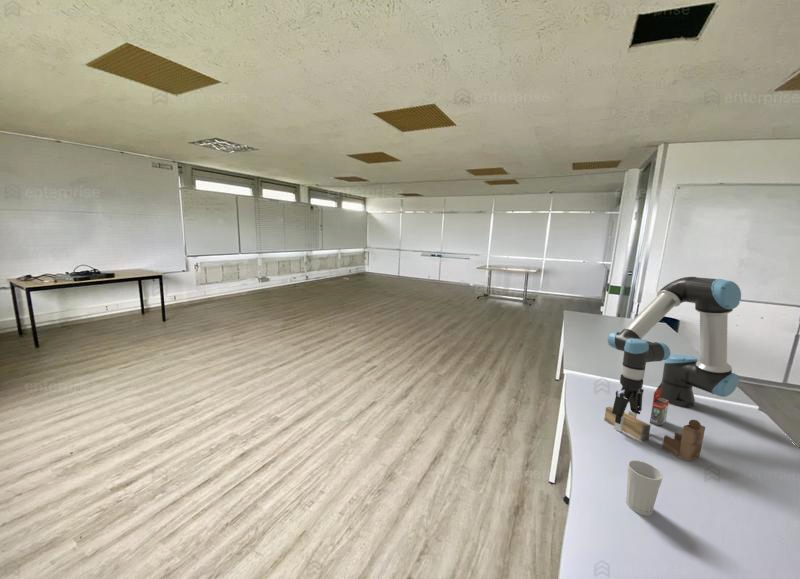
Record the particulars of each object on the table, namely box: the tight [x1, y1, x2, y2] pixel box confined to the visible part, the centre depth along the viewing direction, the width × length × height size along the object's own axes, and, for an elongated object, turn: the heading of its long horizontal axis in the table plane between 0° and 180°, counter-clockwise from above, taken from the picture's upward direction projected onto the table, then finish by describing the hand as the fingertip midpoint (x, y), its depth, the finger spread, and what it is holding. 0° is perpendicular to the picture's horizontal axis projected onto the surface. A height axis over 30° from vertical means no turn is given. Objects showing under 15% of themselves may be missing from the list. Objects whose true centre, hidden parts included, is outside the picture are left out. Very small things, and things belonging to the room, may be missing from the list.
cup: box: [625, 459, 664, 517], centre depth 92 cm, size 8×8×12 cm
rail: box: [604, 405, 652, 442], centre depth 132 cm, size 4×16×6 cm, turn 21°
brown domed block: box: [661, 419, 706, 462], centre depth 117 cm, size 8×8×14 cm
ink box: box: [649, 388, 670, 427], centre depth 138 cm, size 4×8×15 cm, turn 123°
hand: (624, 428), depth 132 cm, fingers open, 7 cm apart
